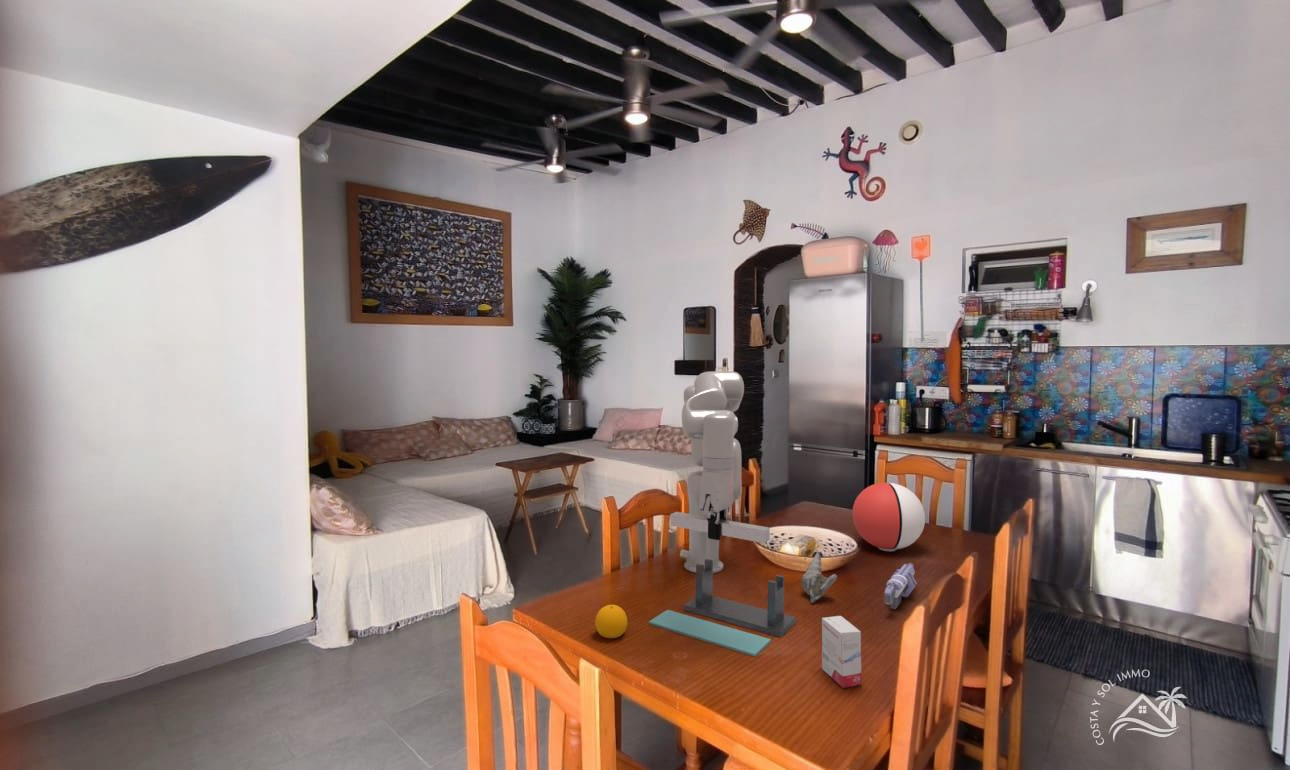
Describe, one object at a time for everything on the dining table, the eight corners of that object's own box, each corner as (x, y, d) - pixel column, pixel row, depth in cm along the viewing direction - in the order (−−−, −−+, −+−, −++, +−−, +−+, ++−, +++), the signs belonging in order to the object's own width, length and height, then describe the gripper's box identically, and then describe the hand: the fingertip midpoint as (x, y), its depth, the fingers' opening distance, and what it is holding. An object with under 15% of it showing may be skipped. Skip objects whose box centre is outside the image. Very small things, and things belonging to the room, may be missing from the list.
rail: (670, 525, 161) (670, 514, 161) (676, 523, 164) (676, 511, 163) (764, 543, 146) (764, 530, 146) (769, 540, 149) (769, 527, 149)
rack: (683, 610, 170) (684, 565, 170) (702, 598, 178) (702, 555, 178) (780, 637, 154) (781, 587, 153) (796, 622, 162) (796, 575, 162)
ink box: (862, 686, 132) (863, 631, 131) (840, 689, 131) (841, 634, 130) (840, 665, 141) (841, 614, 140) (820, 668, 139) (820, 616, 139)
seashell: (793, 600, 177) (793, 565, 176) (813, 582, 191) (814, 550, 190) (828, 609, 171) (829, 573, 170) (846, 589, 185) (847, 556, 184)
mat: (648, 623, 162) (648, 621, 162) (667, 611, 169) (667, 609, 169) (755, 656, 145) (755, 654, 145) (771, 641, 152) (771, 639, 152)
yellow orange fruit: (622, 626, 161) (622, 597, 160) (631, 639, 153) (631, 609, 153) (592, 630, 158) (591, 601, 158) (599, 644, 151) (599, 614, 150)
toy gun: (923, 588, 186) (924, 561, 186) (901, 622, 163) (902, 591, 163) (897, 583, 190) (898, 557, 190) (872, 615, 167) (873, 585, 167)
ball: (908, 539, 234) (935, 560, 210) (843, 538, 234) (864, 559, 211) (909, 476, 232) (937, 490, 209) (844, 476, 233) (865, 490, 209)
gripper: (720, 457, 163) (719, 527, 164) (688, 467, 149) (687, 542, 150) (746, 460, 159) (745, 532, 160) (716, 470, 145) (715, 548, 146)
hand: (717, 536), depth 155 cm, fingers closed on rail, 3 cm apart
